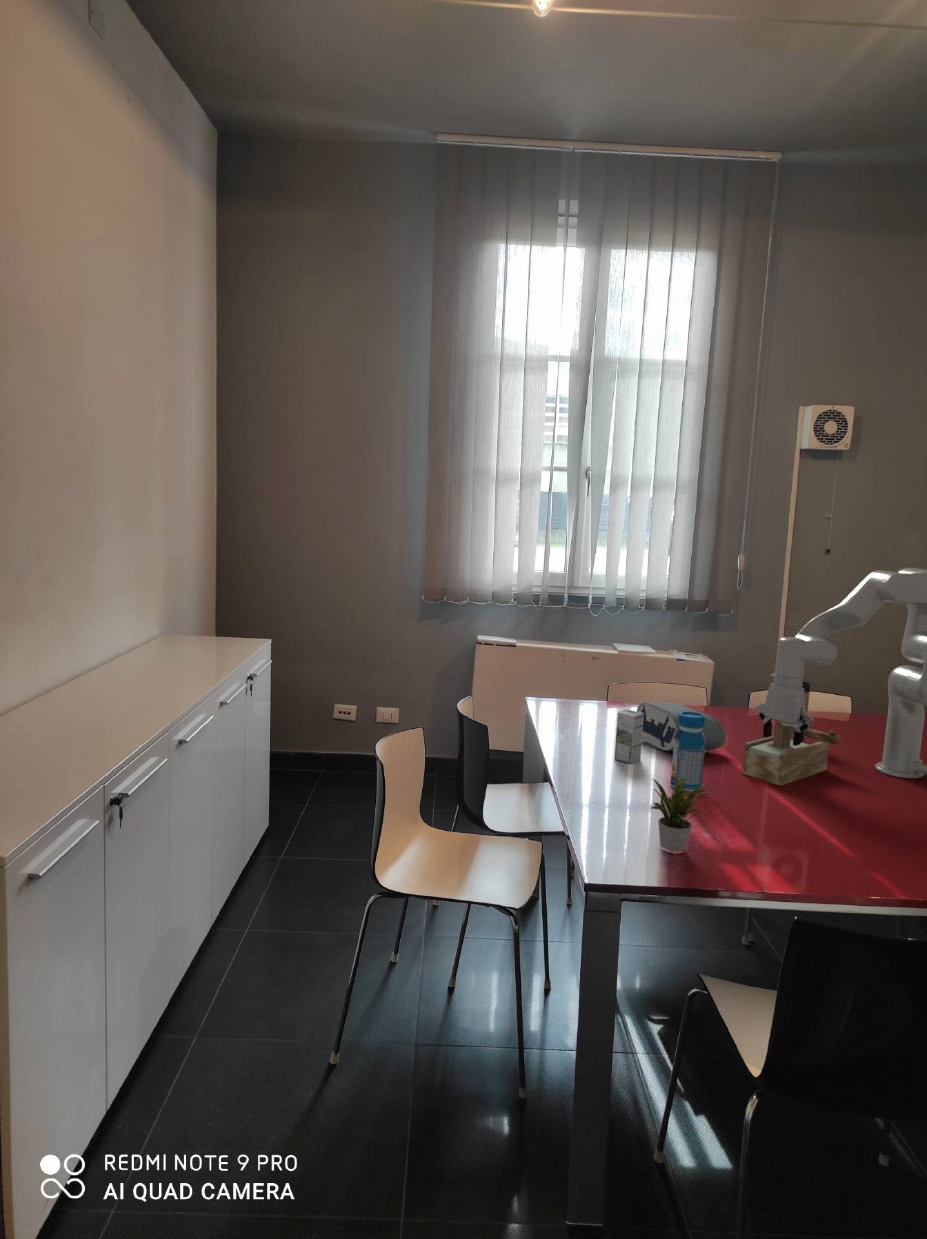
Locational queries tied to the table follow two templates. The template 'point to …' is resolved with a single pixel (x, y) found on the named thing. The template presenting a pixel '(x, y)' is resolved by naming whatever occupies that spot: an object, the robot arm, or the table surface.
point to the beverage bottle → (689, 750)
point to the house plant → (676, 816)
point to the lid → (777, 743)
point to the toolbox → (785, 762)
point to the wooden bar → (818, 734)
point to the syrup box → (629, 736)
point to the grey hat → (675, 726)
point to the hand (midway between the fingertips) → (781, 740)
